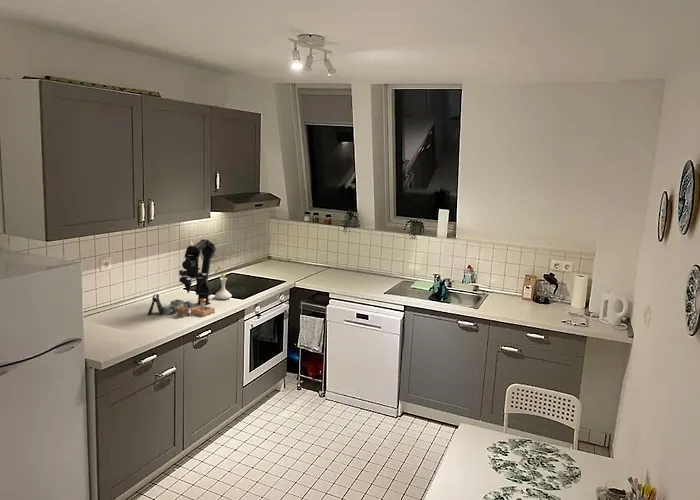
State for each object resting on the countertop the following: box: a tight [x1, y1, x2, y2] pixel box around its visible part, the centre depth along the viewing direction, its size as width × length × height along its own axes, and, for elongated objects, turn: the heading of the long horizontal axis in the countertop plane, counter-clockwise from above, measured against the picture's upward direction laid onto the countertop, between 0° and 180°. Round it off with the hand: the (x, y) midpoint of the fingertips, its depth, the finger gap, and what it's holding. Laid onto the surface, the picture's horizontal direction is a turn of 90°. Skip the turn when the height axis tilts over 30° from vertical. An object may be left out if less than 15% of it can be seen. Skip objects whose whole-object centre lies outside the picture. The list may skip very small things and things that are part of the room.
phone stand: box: [146, 293, 165, 316], centre depth 329 cm, size 9×6×12 cm, turn 101°
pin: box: [200, 298, 206, 311], centre depth 335 cm, size 4×4×8 cm
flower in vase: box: [214, 262, 232, 300], centre depth 368 cm, size 13×11×25 cm
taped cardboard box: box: [176, 305, 190, 318], centre depth 328 cm, size 5×5×6 cm
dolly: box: [162, 298, 193, 315], centre depth 338 cm, size 16×9×6 cm, turn 155°
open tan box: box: [190, 305, 216, 318], centre depth 335 cm, size 10×10×3 cm
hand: (193, 291), depth 337 cm, fingers open, 9 cm apart
